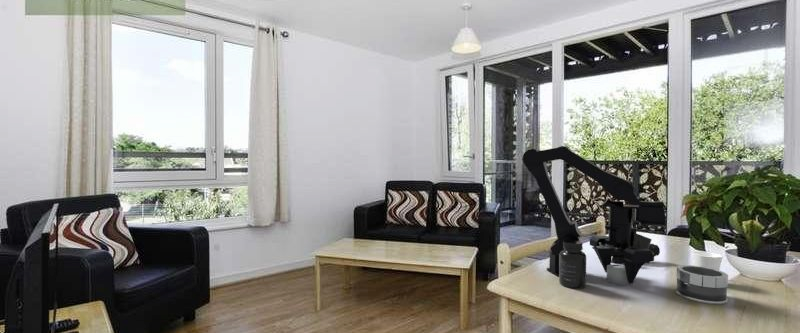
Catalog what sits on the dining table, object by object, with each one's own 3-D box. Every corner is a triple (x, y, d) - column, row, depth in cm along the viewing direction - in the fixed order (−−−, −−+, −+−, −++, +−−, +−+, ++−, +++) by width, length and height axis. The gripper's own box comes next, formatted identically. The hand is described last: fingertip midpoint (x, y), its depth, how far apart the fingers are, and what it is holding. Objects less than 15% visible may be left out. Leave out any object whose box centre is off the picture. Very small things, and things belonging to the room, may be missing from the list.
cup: (686, 280, 109) (687, 252, 109) (699, 274, 115) (700, 248, 114) (716, 288, 103) (717, 258, 103) (729, 281, 109) (730, 253, 109)
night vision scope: (655, 268, 128) (670, 256, 120) (601, 268, 129) (612, 255, 122) (646, 247, 133) (660, 233, 125) (594, 246, 134) (605, 233, 126)
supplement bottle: (564, 278, 110) (565, 237, 109) (589, 285, 105) (590, 242, 104) (554, 284, 105) (555, 241, 104) (580, 291, 100) (581, 246, 100)
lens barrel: (702, 305, 91) (703, 278, 91) (665, 289, 102) (666, 265, 101) (739, 303, 93) (740, 277, 93) (699, 288, 103) (700, 264, 103)
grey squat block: (616, 285, 105) (617, 270, 105) (601, 278, 111) (602, 264, 110) (635, 284, 106) (636, 269, 106) (619, 277, 112) (620, 263, 111)
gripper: (673, 229, 99) (671, 288, 100) (622, 217, 118) (620, 266, 119) (635, 230, 98) (633, 290, 98) (589, 217, 116) (587, 268, 117)
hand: (618, 277), depth 108 cm, fingers open, 9 cm apart
